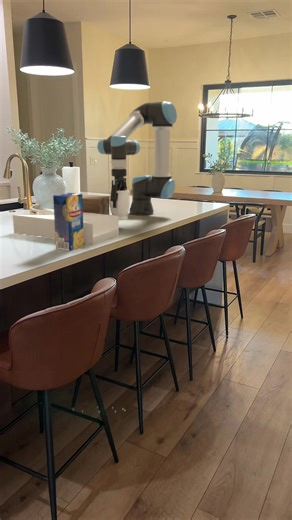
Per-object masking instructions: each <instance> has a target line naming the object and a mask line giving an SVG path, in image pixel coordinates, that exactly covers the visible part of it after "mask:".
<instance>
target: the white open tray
mask: <svg viewBox="0 0 292 520" xmlns="http://www.w3.org/2000/svg"><path fill="white" fill-rule="evenodd" d="M42 211H43V214H12V223H13V234H15V233H18V234H17V235H23V234H26V235H25V236H30V235H33V236H32V237H37V236H41V237H40V238H44V237H47V238H46V239H51V238H54V239H53V240H55V221H54V208H43V210H42ZM119 222H120V220H119V216H114V215H112V214H109V215H104V214H94V213H84V212H83V232H84V244H87V243H88V245H95V244H98V243H101V242H103V241H106V240H108V239H111V238H113V237H116V236H119V231H120V229H119V227H120V226H119Z"/></svg>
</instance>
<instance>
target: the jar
mask: <svg viewBox="0 0 292 520" xmlns="http://www.w3.org/2000/svg"><path fill="white" fill-rule="evenodd" d="M108 191H109V193H110V194H109V196H110V198H111V189H110V188H109V190H108ZM117 193H118V199H117V201H118V214H113V204H112V201H110V198H109V211H110V213H111V215H114V216H119V221H126V220H129V218H128V217H129V216H128V214H129V210H130V206H131V203H130V201H131V200H130V194H129V193H130V189H128V188H127V189H125V191H120V189H119V191H117Z"/></svg>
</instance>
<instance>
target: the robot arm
mask: <svg viewBox="0 0 292 520" xmlns="http://www.w3.org/2000/svg"><path fill="white" fill-rule="evenodd" d="M177 118H178V113H177V109H176V106H175V105H174V104H173V102H170V101H160V102H159V101H158V102H145V103H143V104H141V105H139V106H138V107H136V108H135V109H133V110H132V111H131V112H130V114H129V115H128V117H127V119H125V121H124V122H123V123H121V124H120V126H119V127H117V128H116V130H115V131H114V132H112V133H111V134H110V136H108V137H107V138H106V139H105V138H104V139H100V140H98V143H97V145H96V146H97V151H98V152H99V154H101V155H106V156H107V155H109V156H110V155H111V161H110V163H111V165H110V166H111V170H110V171H111V177H114V178H113V179H112V180H111V187H110V188H111V198H110V201H112V204H113V214H118V201H117V199H118V193H117V191H119V189H120V191H125V189H128V187H127V178H126V177H127V175H128V174H127V164H128V163H127V156H134V155H135V156H136V155H138V153H139V152H140V151H141V145H140V142H139V141H137V140H135V139H129V138H130V137H131V136H132V135H133V133H135V132H136V131H137V130H138V128H142V127H143V126H145V125H152V126H151V128H152V129H153V130H154V172H153V174H150V175H149V174H147V175H142V176H139V175H138V176H134V177H133V178H132V181H131V186H132V187H131V190H132V192H131V193H132V198H131V200H132V201H131V203H130V206H129V211H128V214H129V215H134V216H150V215H153V214H154V206H153V204H152V198H156V199H163V200H164V199H165V200H166V199H170V198H172V196H173V194H174V193H175V190H176V180H174V179H173V178H172V174H171V173H170V137H171V136H170V135H171V134H170V133H171V130H172V128H173V125H175V123H176V122H177Z"/></svg>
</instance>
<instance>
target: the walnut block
mask: <svg viewBox="0 0 292 520" xmlns="http://www.w3.org/2000/svg"><path fill="white" fill-rule="evenodd" d="M82 198H83V212H84V213H94V214H104V215H110V204H109V198H110V195H98V194H97V195H96V194H82Z"/></svg>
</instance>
